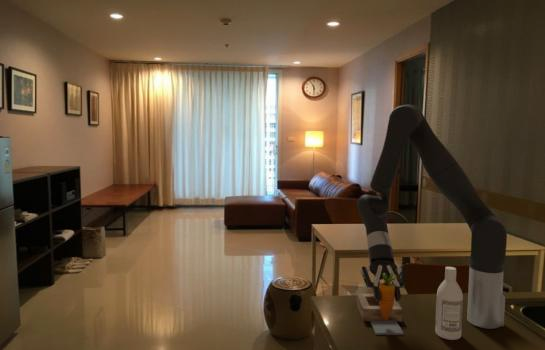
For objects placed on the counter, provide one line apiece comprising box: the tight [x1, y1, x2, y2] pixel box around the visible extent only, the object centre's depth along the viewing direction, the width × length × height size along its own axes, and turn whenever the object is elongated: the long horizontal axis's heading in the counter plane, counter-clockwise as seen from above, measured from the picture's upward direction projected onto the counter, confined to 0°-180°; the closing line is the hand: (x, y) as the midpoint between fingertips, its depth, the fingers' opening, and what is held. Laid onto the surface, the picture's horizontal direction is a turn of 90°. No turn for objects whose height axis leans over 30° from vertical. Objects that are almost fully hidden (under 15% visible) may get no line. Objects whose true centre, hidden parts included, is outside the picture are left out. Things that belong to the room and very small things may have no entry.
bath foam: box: [434, 266, 464, 341], centre depth 117 cm, size 7×7×20 cm
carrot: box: [378, 273, 395, 321], centre depth 122 cm, size 5×5×15 cm
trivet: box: [369, 320, 404, 336], centre depth 123 cm, size 8×8×1 cm
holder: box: [356, 293, 403, 323], centre depth 133 cm, size 12×12×4 cm
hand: (388, 300), depth 120 cm, fingers closed on carrot, 5 cm apart
